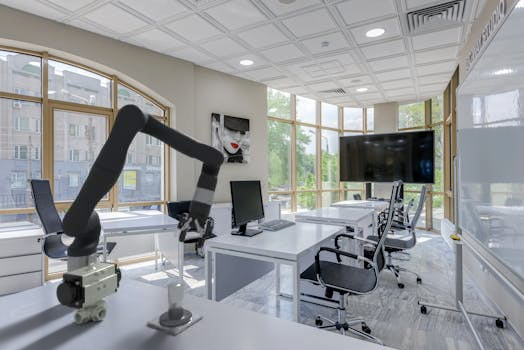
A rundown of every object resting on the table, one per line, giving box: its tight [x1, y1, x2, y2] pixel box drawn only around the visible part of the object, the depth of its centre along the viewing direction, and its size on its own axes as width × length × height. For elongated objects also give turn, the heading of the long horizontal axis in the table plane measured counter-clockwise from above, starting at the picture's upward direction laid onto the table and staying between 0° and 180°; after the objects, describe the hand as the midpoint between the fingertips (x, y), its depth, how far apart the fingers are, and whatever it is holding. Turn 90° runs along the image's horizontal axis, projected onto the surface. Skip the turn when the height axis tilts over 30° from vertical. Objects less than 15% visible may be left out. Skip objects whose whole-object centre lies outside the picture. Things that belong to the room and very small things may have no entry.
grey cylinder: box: [167, 281, 185, 320], centre depth 94 cm, size 5×5×10 cm
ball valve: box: [55, 261, 122, 325], centre depth 95 cm, size 18×8×18 cm, turn 159°
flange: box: [146, 308, 204, 336], centre depth 94 cm, size 12×12×1 cm
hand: (190, 245), depth 108 cm, fingers open, 8 cm apart
